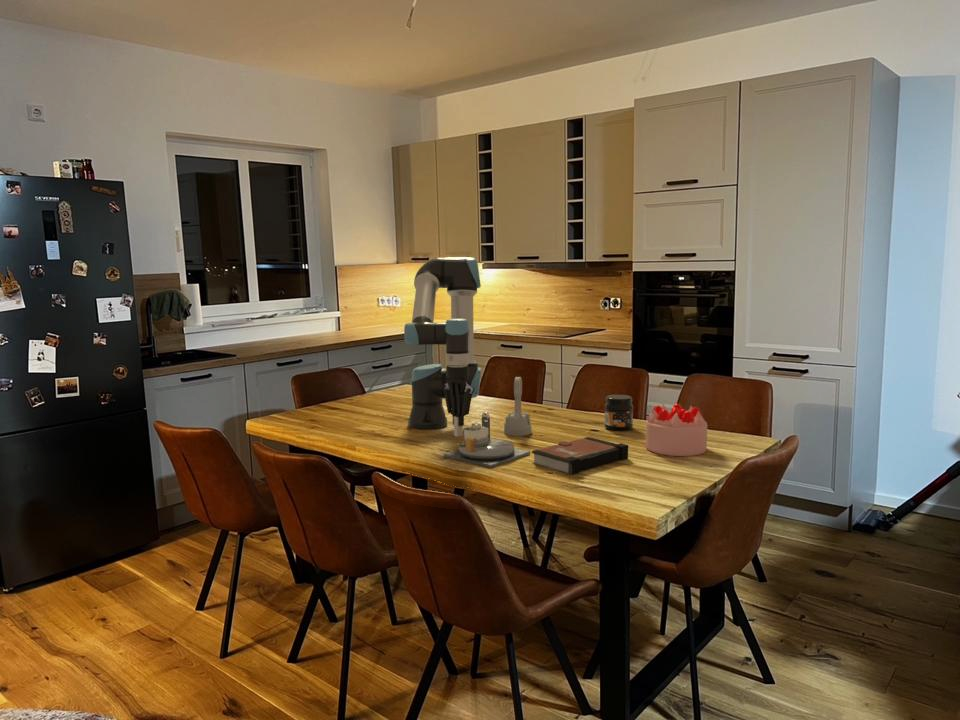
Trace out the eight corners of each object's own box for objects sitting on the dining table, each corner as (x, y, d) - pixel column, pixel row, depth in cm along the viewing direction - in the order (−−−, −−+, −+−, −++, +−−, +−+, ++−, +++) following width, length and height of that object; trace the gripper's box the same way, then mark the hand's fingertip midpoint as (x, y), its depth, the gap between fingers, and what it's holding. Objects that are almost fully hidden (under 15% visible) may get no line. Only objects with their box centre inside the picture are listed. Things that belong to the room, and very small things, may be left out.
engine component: (502, 435, 264) (529, 436, 262) (501, 379, 262) (529, 380, 260) (507, 428, 275) (533, 429, 273) (506, 374, 272) (533, 375, 270)
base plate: (443, 456, 236) (443, 454, 236) (483, 444, 251) (483, 441, 251) (490, 468, 223) (490, 464, 223) (529, 454, 238) (529, 451, 238)
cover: (459, 444, 239) (458, 424, 238) (475, 439, 245) (474, 420, 244) (477, 448, 234) (477, 428, 233) (493, 443, 240) (493, 423, 239)
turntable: (483, 442, 249) (483, 424, 248) (525, 450, 238) (525, 432, 237) (447, 452, 236) (447, 434, 235) (490, 462, 224) (490, 443, 223)
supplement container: (600, 429, 271) (600, 398, 269) (609, 424, 280) (609, 393, 278) (628, 432, 266) (628, 400, 264) (636, 426, 275) (636, 395, 273)
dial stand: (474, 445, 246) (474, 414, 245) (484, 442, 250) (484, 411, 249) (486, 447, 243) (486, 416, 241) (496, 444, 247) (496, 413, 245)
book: (586, 449, 245) (586, 435, 244) (627, 460, 232) (628, 445, 231) (530, 464, 228) (530, 448, 228) (571, 476, 215) (571, 460, 214)
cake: (633, 447, 245) (634, 406, 243) (672, 438, 257) (673, 399, 255) (680, 460, 229) (681, 416, 227) (719, 450, 241) (721, 408, 239)
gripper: (435, 365, 242) (436, 434, 245) (464, 368, 234) (465, 440, 237) (451, 362, 248) (452, 430, 251) (479, 365, 239) (480, 435, 243)
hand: (458, 435), depth 244 cm, fingers closed
